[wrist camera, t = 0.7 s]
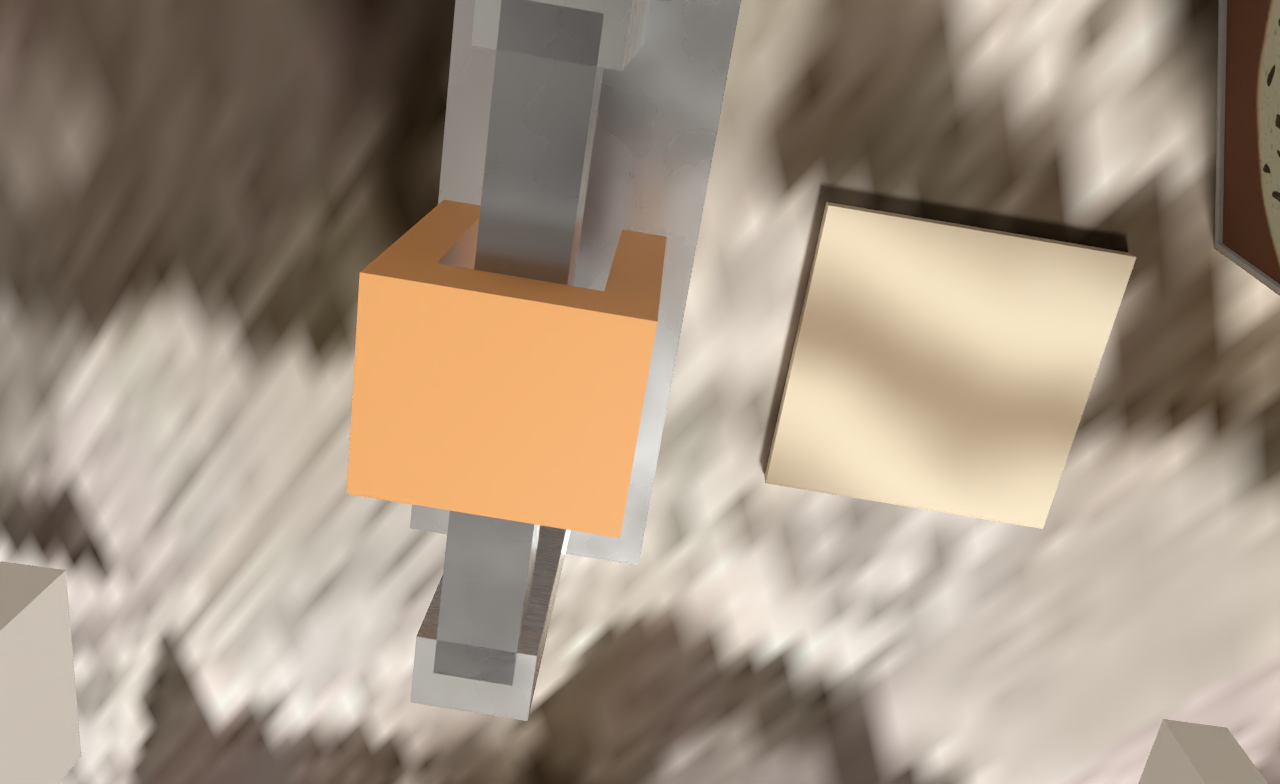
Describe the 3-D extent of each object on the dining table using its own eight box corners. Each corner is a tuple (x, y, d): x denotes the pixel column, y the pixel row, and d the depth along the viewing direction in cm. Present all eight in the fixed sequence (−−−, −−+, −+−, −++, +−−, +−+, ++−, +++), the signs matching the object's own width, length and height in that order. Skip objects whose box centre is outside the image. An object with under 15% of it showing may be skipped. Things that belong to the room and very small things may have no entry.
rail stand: (481, -96, 31) (353, -146, 19) (746, -52, 31) (778, -73, 19) (427, 495, 38) (310, 717, 27) (641, 530, 38) (619, 767, 27)
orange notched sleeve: (444, 199, 28) (359, 272, 21) (666, 236, 28) (657, 321, 21) (428, 372, 29) (346, 494, 22) (637, 407, 30) (620, 538, 23)
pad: (826, 202, 34) (828, 205, 33) (1129, 252, 34) (1136, 257, 33) (764, 475, 37) (765, 482, 37) (1037, 520, 37) (1042, 528, 37)
